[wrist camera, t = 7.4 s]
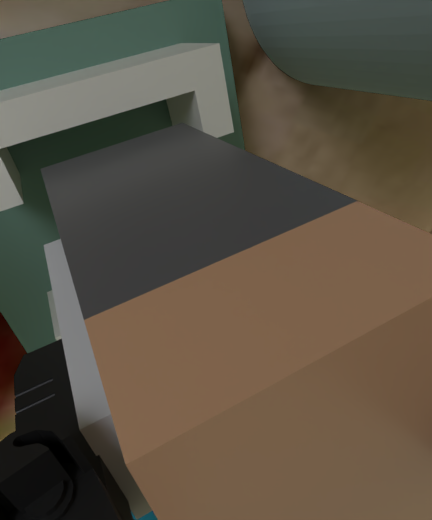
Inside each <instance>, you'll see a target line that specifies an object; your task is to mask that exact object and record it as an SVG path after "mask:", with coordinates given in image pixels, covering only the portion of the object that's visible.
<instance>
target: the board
mask: <svg viewBox="0 0 432 520" xmlns="http://www.w3.org/2000/svg"><path fill="white" fill-rule="evenodd" d="M180 123H184V124H187V125H189V126H191V127H193V128H196V129H198V130H200V131H202V132H205V133H207V134H209V135H211V136H214V137H216V138H218V139H220V140H222V141H225V142H227V143H229V144H231V145H234V146H236V147H238V148H240V149H243V150H245V147H244V140H243V134H242V127H241V121H240V114H239V108H238V102H237V95H236V89H235V82H234V76H233V69H232V63H231V56H230V50H229V43H228V37H227V31H226V24H225V18H224V11H223V5H222V0H169V1H165V2H160V3H156V4H152V5H147V6H143V7H138V8H134V9H130V10H125V11H121V12H117V13H112V14H108V15H104V16H99V17H95V18H91V19H86V20H82V21H77V22H73V23H69V24H64V25H60V26H56V27H51V28H47V29H43V30H38V31H34V32H30V33H25V34H21V35H16V36H12V37H8V38H3V39H0V312H1V313H2V315H3V316H4V318H5V319H6V321H7V322H8V324H9V326H10V327H11V329H12V330H13V332H14V333H15V335H16V336H17V338H18V339H19V341H20V343H21V344H22V346H23V347H24V349H25V350H26V352H27V353H30V352H32V351H34V350H37V349H39V348H41V347H44V346H46V345H48V344H50V343H53V342H55V341H57V340H59V339H62V337H61V332H60V327H59V322H58V317H57V312H56V307H55V302H54V296H53V291H52V286H51V281H50V276H49V271H48V266H47V260H46V255H45V250H44V245H45V244H48V243H50V242H53V241H56V240H59V239H60V235H59V232H58V228H57V225H56V221H55V218H54V215H53V211H52V208H51V204H50V201H49V197H48V194H47V190H46V187H45V183H44V180H43V176H42V173H41V168H44V167H47V166H51V165H54V164H57V163H60V162H63V161H66V160H69V159H72V158H75V157H78V156H81V155H84V154H87V153H91V152H94V151H97V150H100V149H103V148H106V147H109V146H112V145H115V144H118V143H121V142H124V141H127V140H131V139H134V138H137V137H140V136H143V135H146V134H149V133H152V132H155V131H158V130H161V129H164V128H168V127H171V126H174V125H177V124H180Z"/></svg>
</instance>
